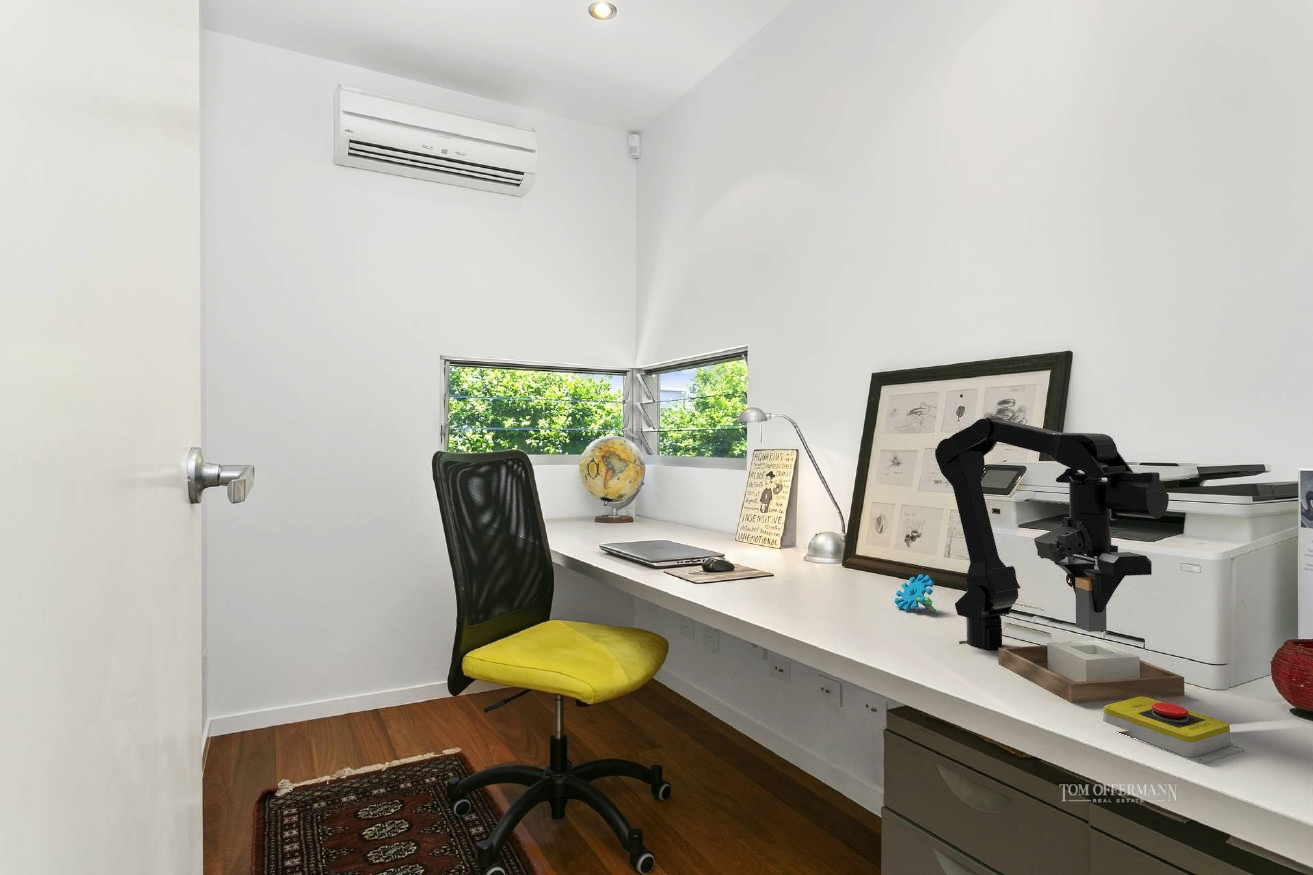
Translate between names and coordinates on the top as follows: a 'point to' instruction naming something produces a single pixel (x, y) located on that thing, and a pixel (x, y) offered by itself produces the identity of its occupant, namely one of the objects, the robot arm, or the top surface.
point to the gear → (915, 593)
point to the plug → (1087, 607)
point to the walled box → (1035, 669)
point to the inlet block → (1092, 661)
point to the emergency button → (1172, 728)
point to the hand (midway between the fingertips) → (1091, 609)
